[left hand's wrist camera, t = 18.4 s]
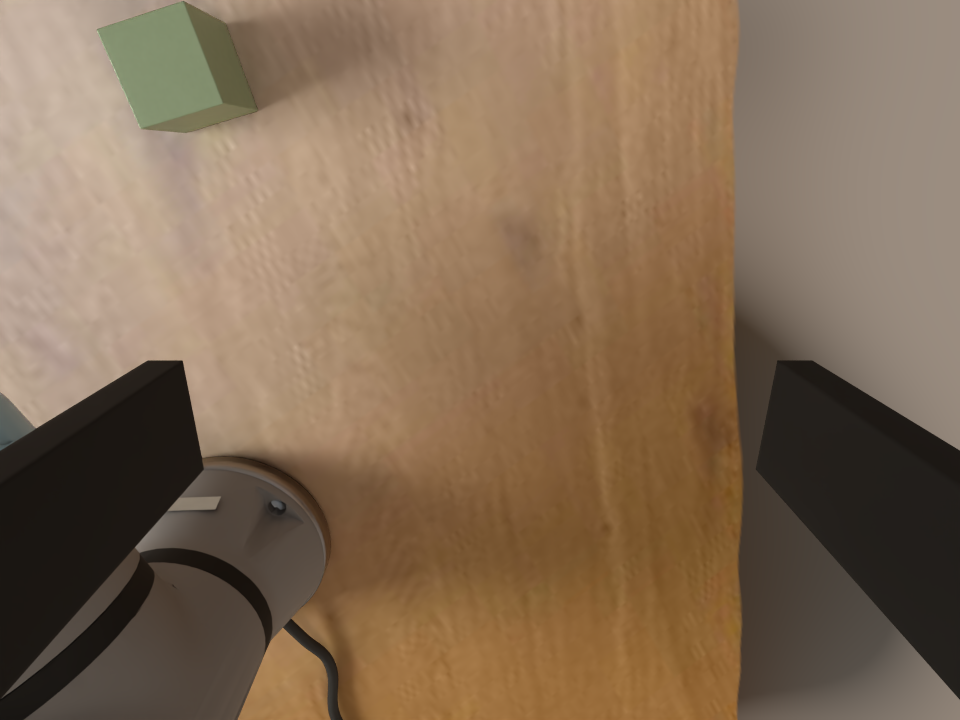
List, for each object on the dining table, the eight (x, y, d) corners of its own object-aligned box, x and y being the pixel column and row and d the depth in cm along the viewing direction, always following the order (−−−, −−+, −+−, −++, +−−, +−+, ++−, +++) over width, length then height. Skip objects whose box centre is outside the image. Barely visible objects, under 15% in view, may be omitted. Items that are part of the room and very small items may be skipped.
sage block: (258, 110, 35) (223, 103, 30) (185, 133, 35) (140, 129, 30) (225, 22, 33) (183, 0, 28) (149, 47, 33) (95, 29, 29)
